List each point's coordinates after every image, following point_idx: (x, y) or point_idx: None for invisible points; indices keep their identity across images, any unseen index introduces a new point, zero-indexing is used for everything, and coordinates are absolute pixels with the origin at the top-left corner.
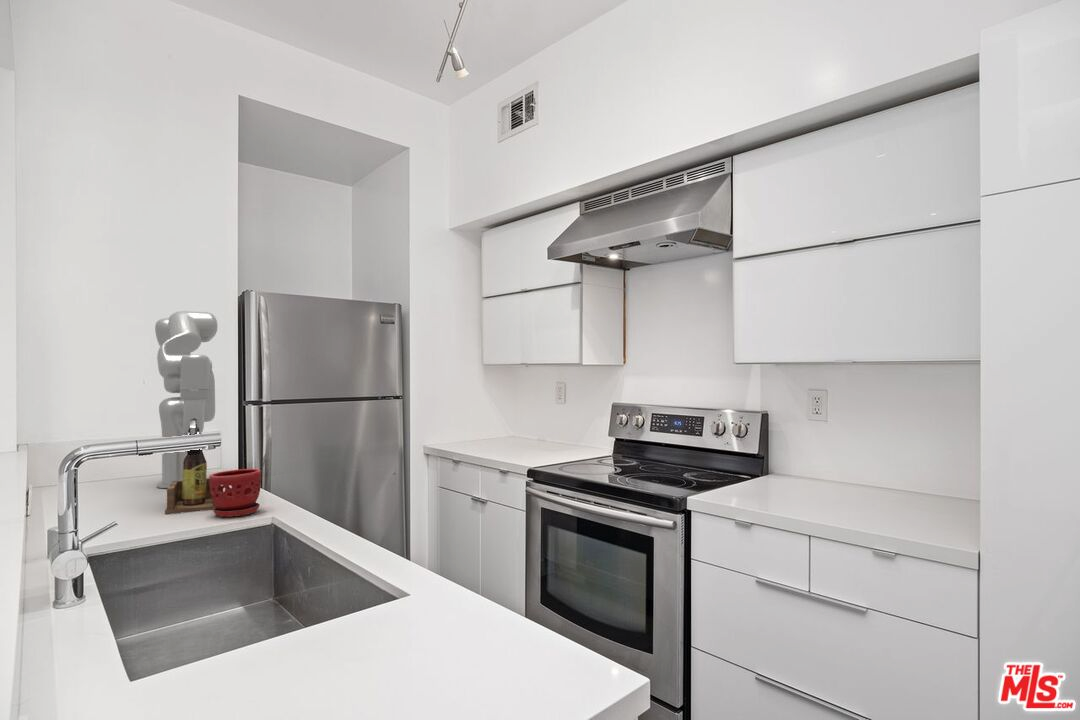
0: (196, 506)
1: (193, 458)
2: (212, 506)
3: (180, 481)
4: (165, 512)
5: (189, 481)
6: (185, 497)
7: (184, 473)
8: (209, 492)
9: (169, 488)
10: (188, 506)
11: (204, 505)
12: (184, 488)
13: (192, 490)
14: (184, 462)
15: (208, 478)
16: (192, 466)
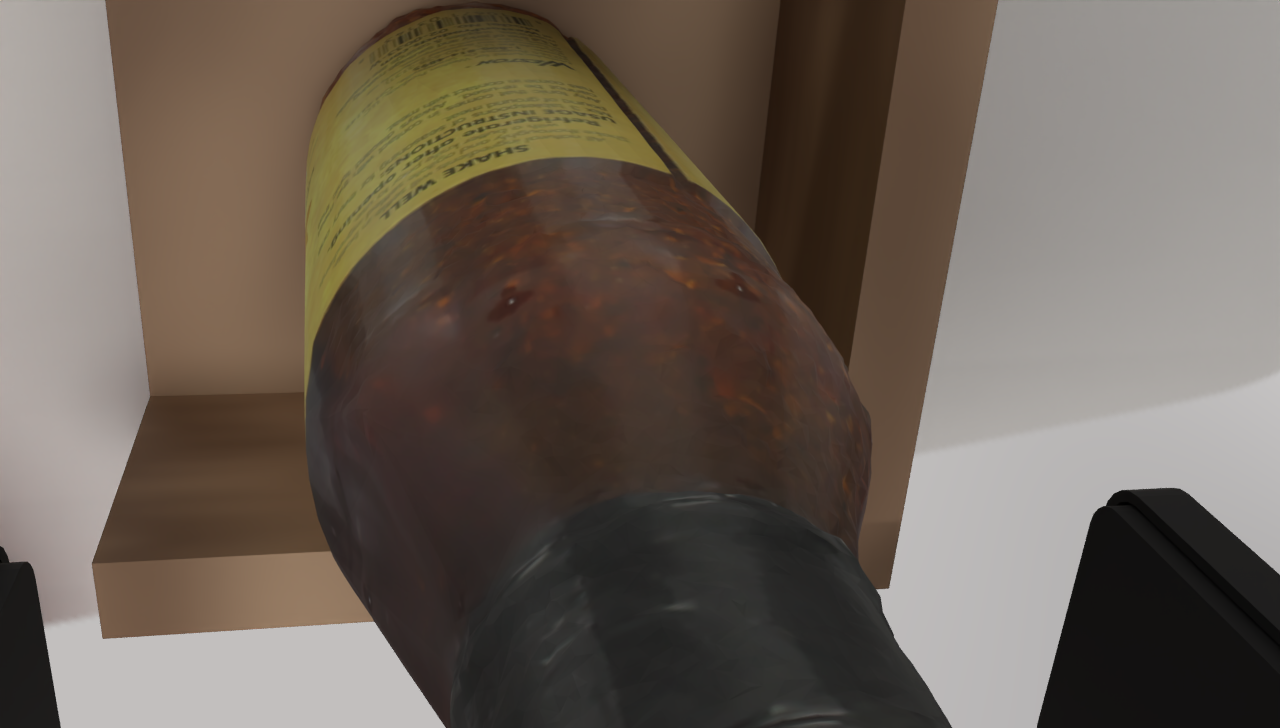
0: (220, 194)
1: (392, 541)
2: (151, 387)
3: (912, 7)
4: None
5: (321, 219)
6: (352, 71)
7: (414, 174)
8: None
9: None
10: (278, 86)
11: (245, 291)
12: (379, 90)
13: (306, 212)
14: (468, 268)
15: (916, 436)
16: (308, 416)
